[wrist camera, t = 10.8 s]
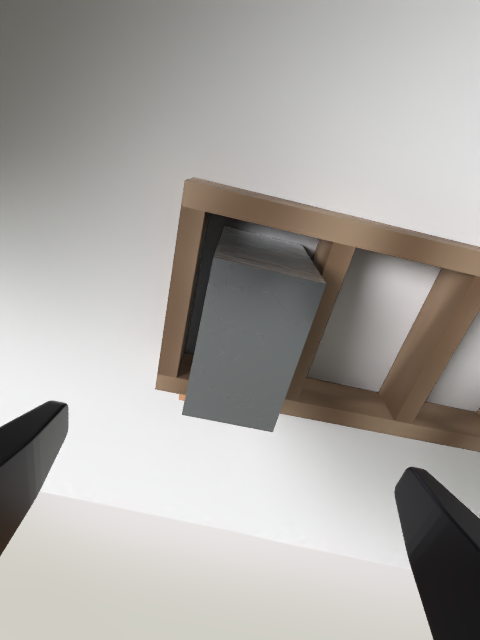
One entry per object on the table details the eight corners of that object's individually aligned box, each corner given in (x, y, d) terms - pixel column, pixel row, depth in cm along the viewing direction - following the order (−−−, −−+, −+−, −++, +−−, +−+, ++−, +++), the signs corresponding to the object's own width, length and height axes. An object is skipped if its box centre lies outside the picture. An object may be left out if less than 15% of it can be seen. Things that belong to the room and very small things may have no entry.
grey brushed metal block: (301, 244, 17) (326, 283, 12) (266, 358, 20) (272, 432, 14) (224, 226, 17) (213, 257, 11) (200, 344, 20) (182, 414, 14)
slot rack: (592, 274, 17) (644, 291, 15) (477, 433, 22) (504, 464, 20) (194, 177, 16) (184, 180, 13) (164, 371, 20) (154, 397, 18)
